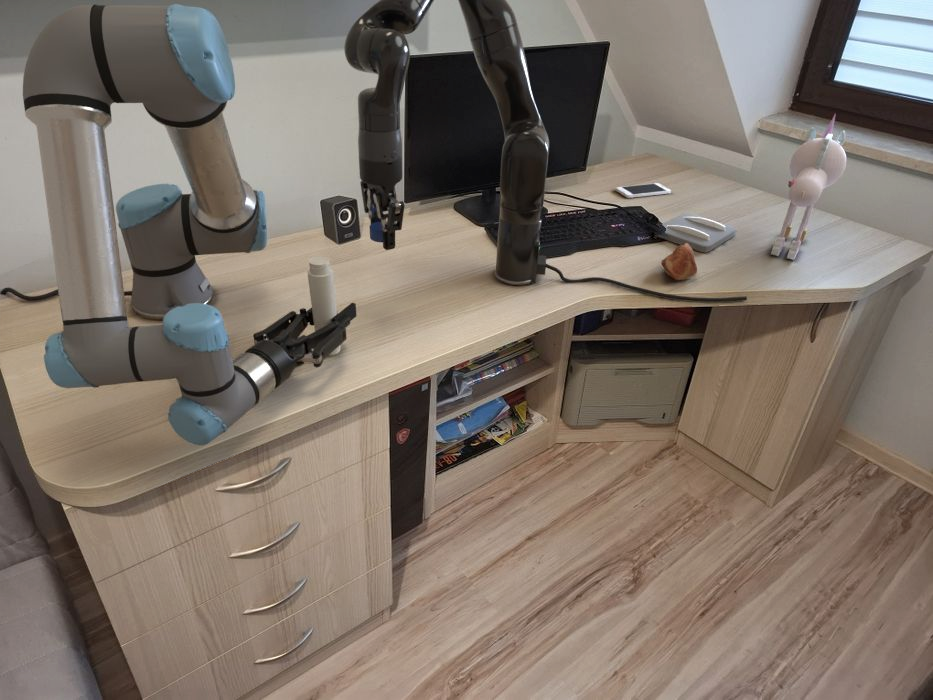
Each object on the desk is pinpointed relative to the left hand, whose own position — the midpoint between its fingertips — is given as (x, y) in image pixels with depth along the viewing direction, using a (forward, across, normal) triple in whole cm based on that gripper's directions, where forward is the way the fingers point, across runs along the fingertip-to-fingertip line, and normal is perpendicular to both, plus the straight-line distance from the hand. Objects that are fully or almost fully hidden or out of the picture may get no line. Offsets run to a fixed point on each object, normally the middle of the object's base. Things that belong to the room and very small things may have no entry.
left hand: (342, 306), depth 118 cm
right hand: (+11, +3, +9) cm, 14 cm away
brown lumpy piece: (+57, +53, -6) cm, 78 cm away
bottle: (-5, 0, -6) cm, 8 cm away
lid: (+11, +3, +12) cm, 16 cm away
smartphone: (+110, +34, -6) cm, 115 cm away
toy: (+94, +76, -6) cm, 121 cm away
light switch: (+84, +53, -6) cm, 99 cm away
